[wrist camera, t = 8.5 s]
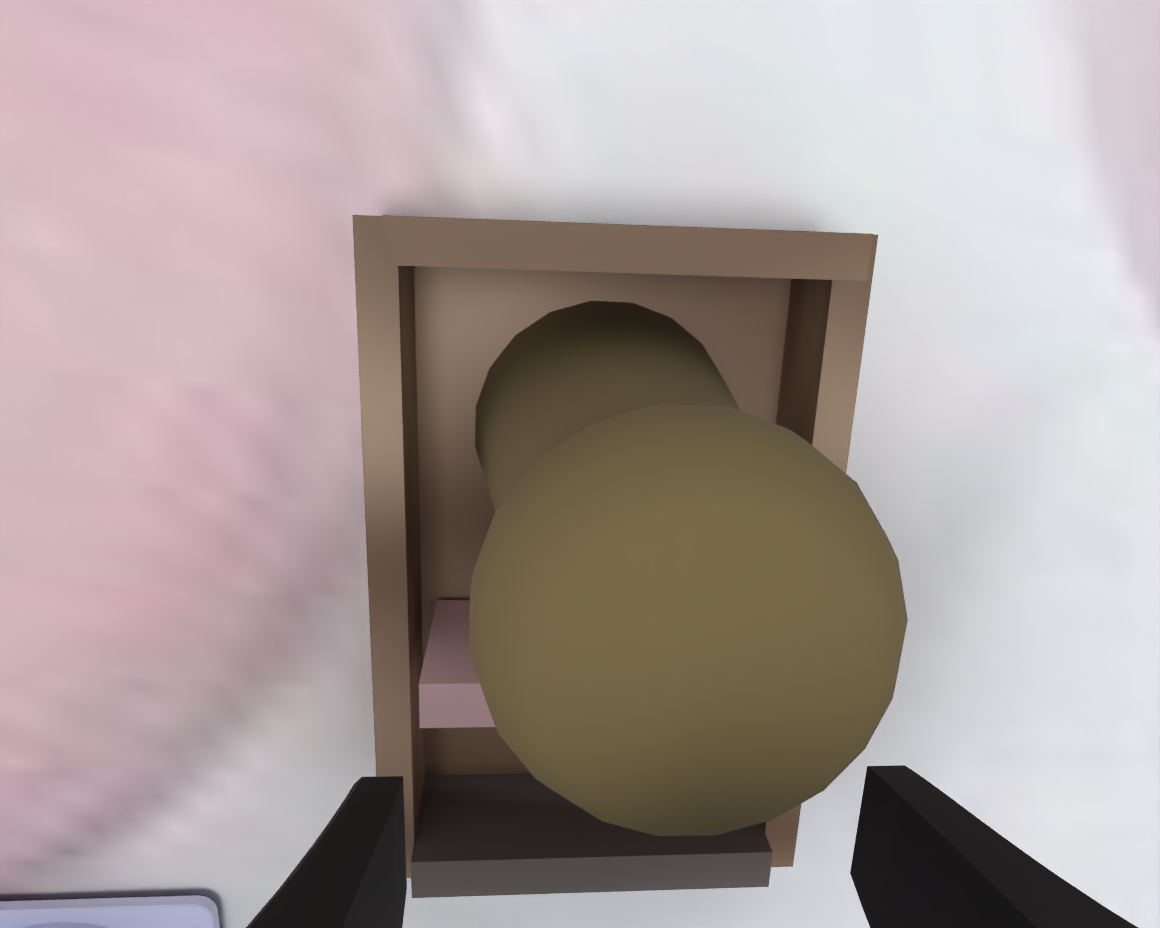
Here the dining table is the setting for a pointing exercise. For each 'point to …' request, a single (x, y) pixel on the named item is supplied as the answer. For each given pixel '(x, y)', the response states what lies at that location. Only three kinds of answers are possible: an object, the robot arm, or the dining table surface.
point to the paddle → (451, 673)
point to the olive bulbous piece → (670, 583)
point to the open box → (465, 510)
